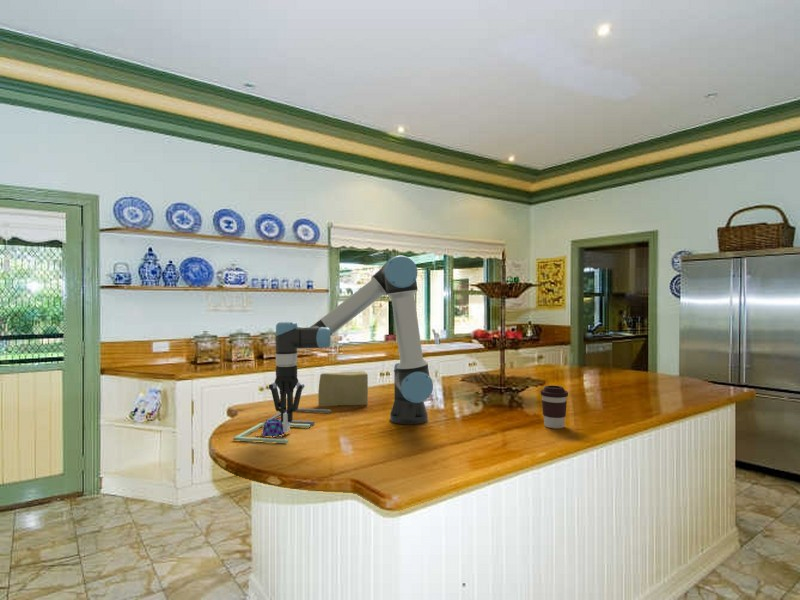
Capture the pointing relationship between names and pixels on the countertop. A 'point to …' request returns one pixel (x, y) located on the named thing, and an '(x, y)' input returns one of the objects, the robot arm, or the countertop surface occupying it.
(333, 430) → the countertop surface
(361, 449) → the countertop surface
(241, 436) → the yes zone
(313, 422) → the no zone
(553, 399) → the coffee cup
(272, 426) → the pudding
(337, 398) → the olive beige rectangular block
